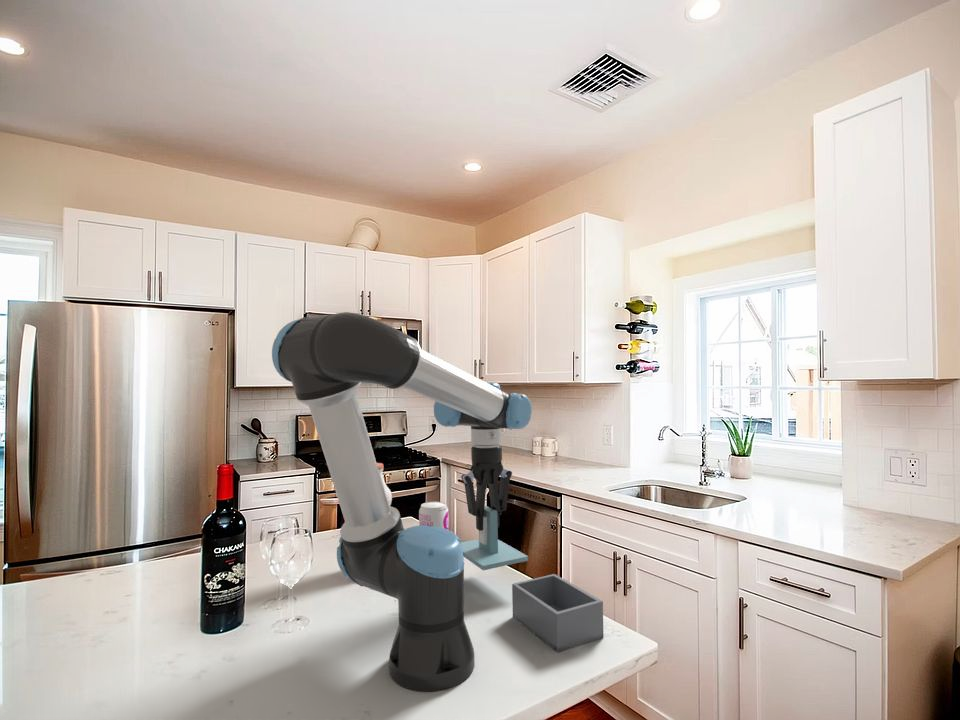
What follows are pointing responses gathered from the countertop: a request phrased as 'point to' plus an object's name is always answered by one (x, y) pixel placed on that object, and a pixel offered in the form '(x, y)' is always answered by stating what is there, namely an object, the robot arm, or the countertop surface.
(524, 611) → the parts tub
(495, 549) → the lid
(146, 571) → the countertop surface
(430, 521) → the supplement can
